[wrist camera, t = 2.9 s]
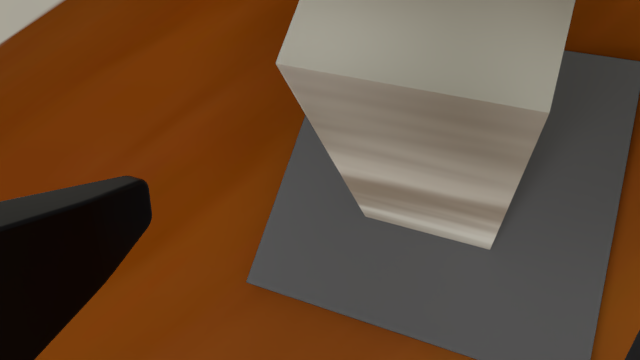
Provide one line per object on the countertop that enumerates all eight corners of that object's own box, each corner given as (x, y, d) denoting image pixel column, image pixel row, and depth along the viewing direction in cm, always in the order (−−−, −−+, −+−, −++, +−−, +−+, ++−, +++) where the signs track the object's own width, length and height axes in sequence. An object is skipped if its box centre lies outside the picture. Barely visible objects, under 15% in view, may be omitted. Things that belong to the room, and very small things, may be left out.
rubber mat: (579, 393, 18) (583, 395, 17) (251, 283, 22) (246, 282, 21) (639, 69, 21) (645, 62, 20) (342, 25, 25) (340, 18, 24)
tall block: (490, 249, 19) (549, 112, 8) (365, 216, 21) (275, 63, 10) (518, 132, 21) (603, -126, 10) (398, 108, 22) (351, -137, 11)
